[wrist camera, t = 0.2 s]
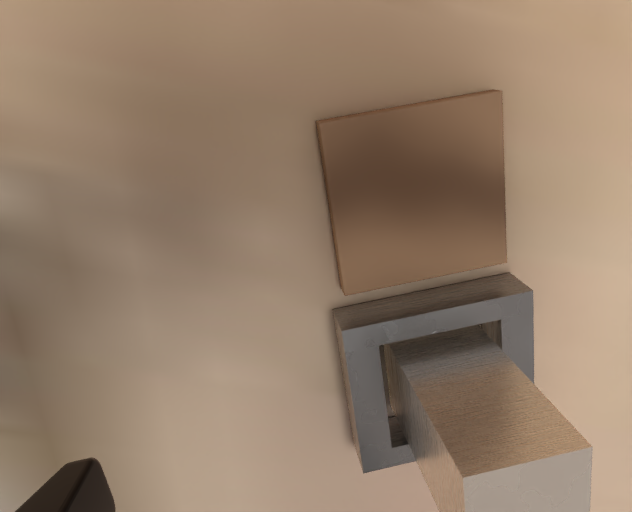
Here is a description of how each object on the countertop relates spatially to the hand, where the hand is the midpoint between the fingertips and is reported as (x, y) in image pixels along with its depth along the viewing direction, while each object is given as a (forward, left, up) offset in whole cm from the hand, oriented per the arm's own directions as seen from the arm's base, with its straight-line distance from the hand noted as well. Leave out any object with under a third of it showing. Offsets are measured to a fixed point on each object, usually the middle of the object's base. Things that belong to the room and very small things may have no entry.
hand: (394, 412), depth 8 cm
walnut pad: (-1, -5, -14) cm, 15 cm away
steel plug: (-9, -5, -14) cm, 17 cm away
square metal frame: (-9, -5, -14) cm, 17 cm away
